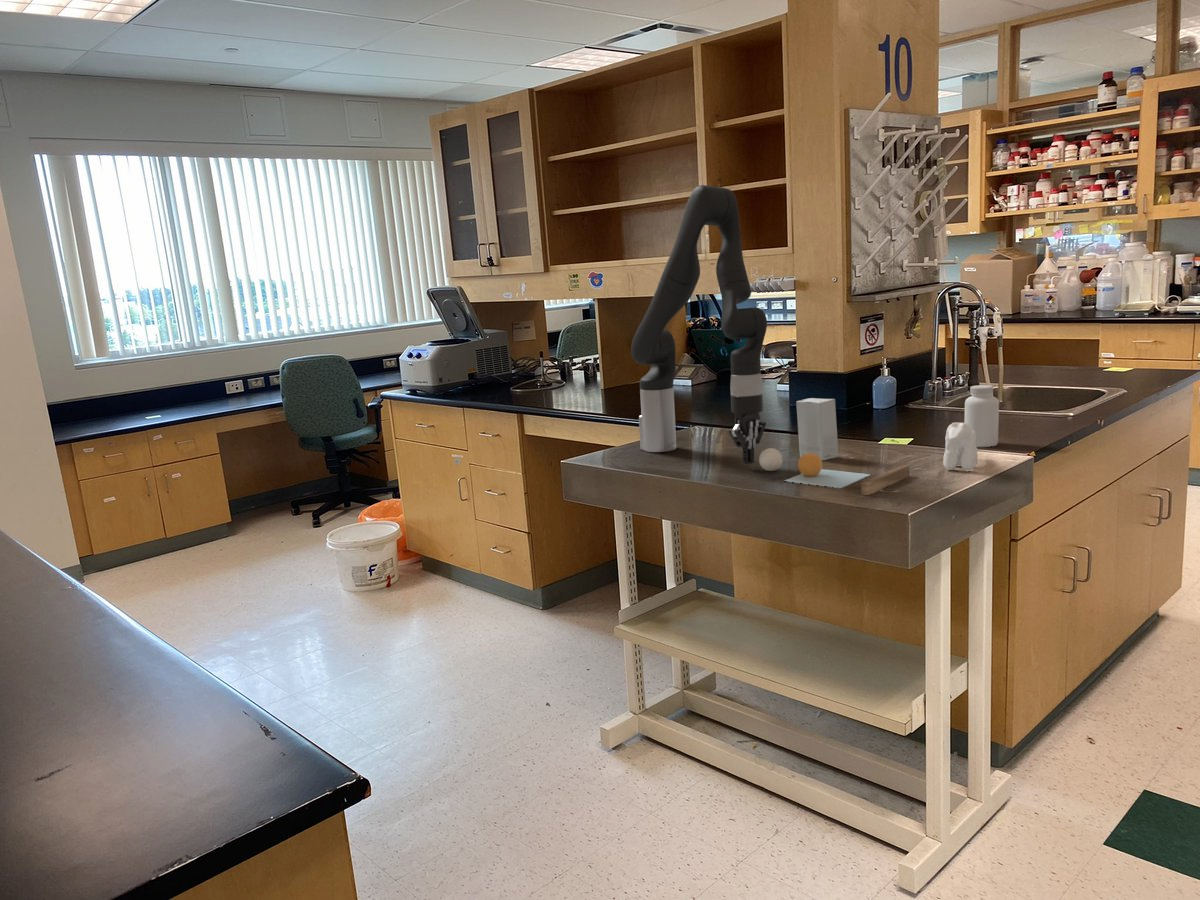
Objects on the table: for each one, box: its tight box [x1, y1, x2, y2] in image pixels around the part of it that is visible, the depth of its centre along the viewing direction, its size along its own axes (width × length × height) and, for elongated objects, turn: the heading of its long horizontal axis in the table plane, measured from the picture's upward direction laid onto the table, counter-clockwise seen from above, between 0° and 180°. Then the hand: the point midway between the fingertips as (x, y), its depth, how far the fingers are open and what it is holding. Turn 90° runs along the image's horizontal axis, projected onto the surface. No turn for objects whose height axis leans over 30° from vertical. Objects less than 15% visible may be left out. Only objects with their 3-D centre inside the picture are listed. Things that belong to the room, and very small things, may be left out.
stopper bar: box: [860, 464, 910, 496], centre depth 188 cm, size 2×20×2 cm, turn 137°
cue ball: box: [758, 447, 783, 472], centre depth 208 cm, size 6×6×6 cm
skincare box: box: [795, 397, 839, 461], centre depth 218 cm, size 8×6×15 cm
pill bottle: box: [963, 384, 1000, 448], centre depth 221 cm, size 8×8×15 cm
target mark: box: [784, 468, 872, 489], centre depth 197 cm, size 14×14×1 cm
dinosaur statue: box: [942, 422, 978, 471], centre depth 199 cm, size 7×24×11 cm, turn 145°
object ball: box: [797, 453, 824, 477], centre depth 200 cm, size 6×6×6 cm
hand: (748, 463), depth 211 cm, fingers closed
